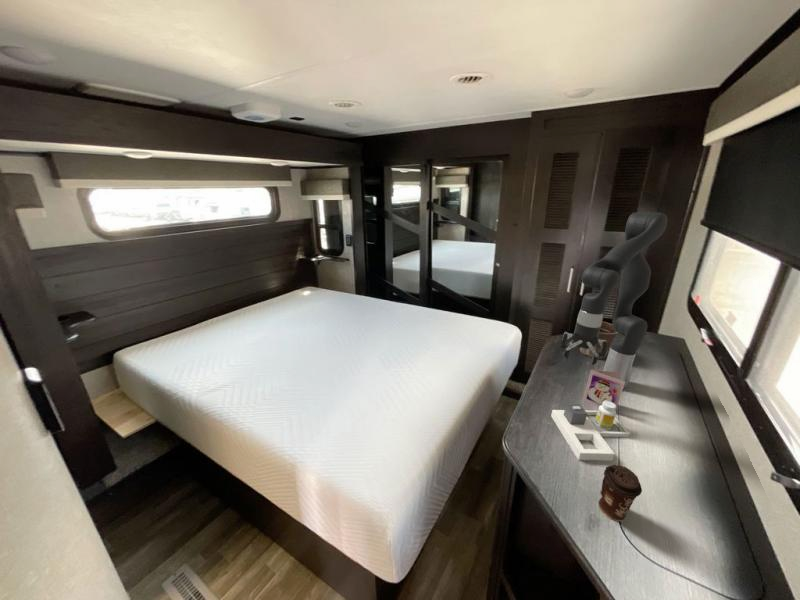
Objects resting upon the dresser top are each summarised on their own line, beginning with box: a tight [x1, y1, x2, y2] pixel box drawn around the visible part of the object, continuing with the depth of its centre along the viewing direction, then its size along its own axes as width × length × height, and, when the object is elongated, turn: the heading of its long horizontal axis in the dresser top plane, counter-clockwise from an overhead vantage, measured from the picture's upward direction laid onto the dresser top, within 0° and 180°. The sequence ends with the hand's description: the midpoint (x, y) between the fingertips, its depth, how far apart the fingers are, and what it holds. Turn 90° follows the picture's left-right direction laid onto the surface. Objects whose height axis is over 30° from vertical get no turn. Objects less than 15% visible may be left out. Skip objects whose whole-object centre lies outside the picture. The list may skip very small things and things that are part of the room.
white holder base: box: [551, 403, 616, 462], centre depth 107 cm, size 11×20×9 cm, turn 179°
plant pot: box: [579, 320, 619, 360], centre depth 159 cm, size 16×16×16 cm
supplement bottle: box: [594, 401, 617, 430], centre depth 112 cm, size 5×5×10 cm
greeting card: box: [582, 369, 625, 411], centre depth 122 cm, size 11×7×15 cm, turn 47°
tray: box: [584, 409, 631, 438], centre depth 113 cm, size 12×12×2 cm
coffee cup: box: [598, 464, 643, 522], centre depth 82 cm, size 9×8×13 cm
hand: (579, 361), depth 114 cm, fingers open, 8 cm apart
